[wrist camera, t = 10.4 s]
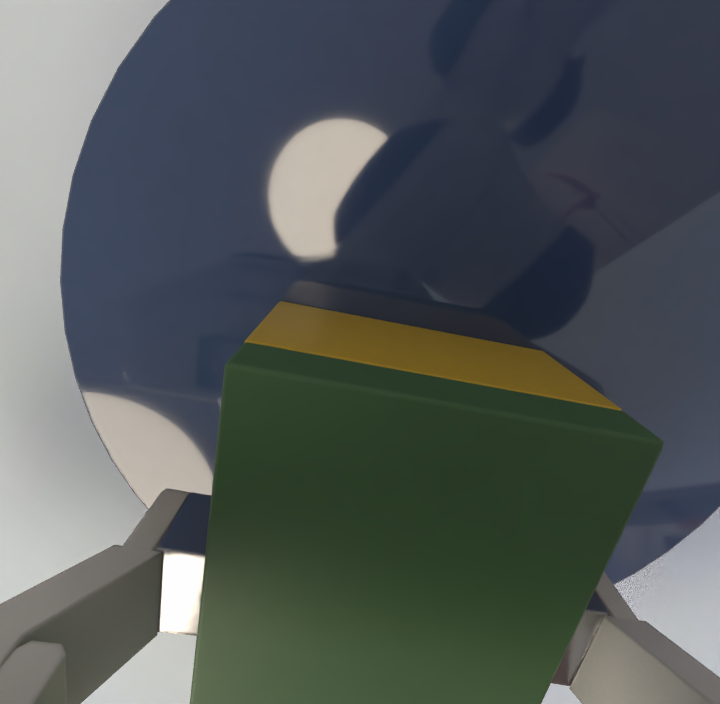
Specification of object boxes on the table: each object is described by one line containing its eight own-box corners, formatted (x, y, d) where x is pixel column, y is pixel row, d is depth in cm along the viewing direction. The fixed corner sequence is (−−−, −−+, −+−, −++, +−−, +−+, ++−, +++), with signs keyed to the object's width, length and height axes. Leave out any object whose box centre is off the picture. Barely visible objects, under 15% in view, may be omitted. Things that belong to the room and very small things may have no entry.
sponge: (279, 300, 9) (223, 363, 5) (543, 350, 9) (668, 442, 6) (236, 611, 12) (179, 799, 8) (442, 639, 12) (481, 831, 8)
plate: (98, -190, 8) (43, -275, 6) (930, 29, 9) (1032, -4, 7) (95, 547, 13) (66, 586, 12) (618, 625, 14) (646, 669, 13)
